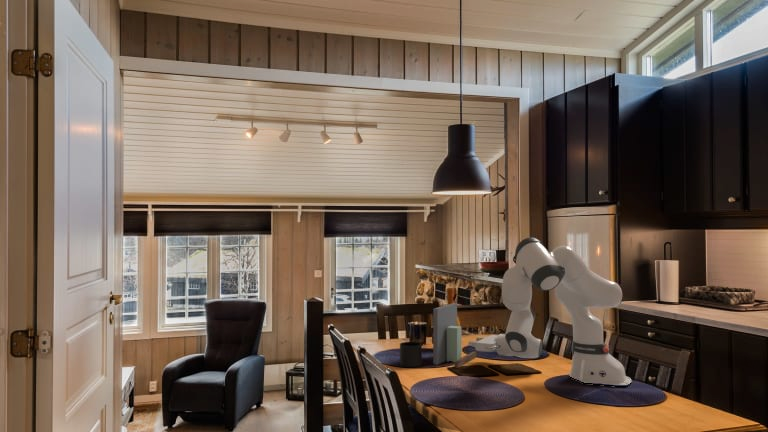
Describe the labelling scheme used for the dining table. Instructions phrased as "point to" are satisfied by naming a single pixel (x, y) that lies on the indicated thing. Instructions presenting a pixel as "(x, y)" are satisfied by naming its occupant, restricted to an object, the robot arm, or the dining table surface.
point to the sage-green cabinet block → (453, 343)
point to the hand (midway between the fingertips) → (472, 341)
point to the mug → (410, 354)
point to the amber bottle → (451, 300)
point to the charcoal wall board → (445, 334)
